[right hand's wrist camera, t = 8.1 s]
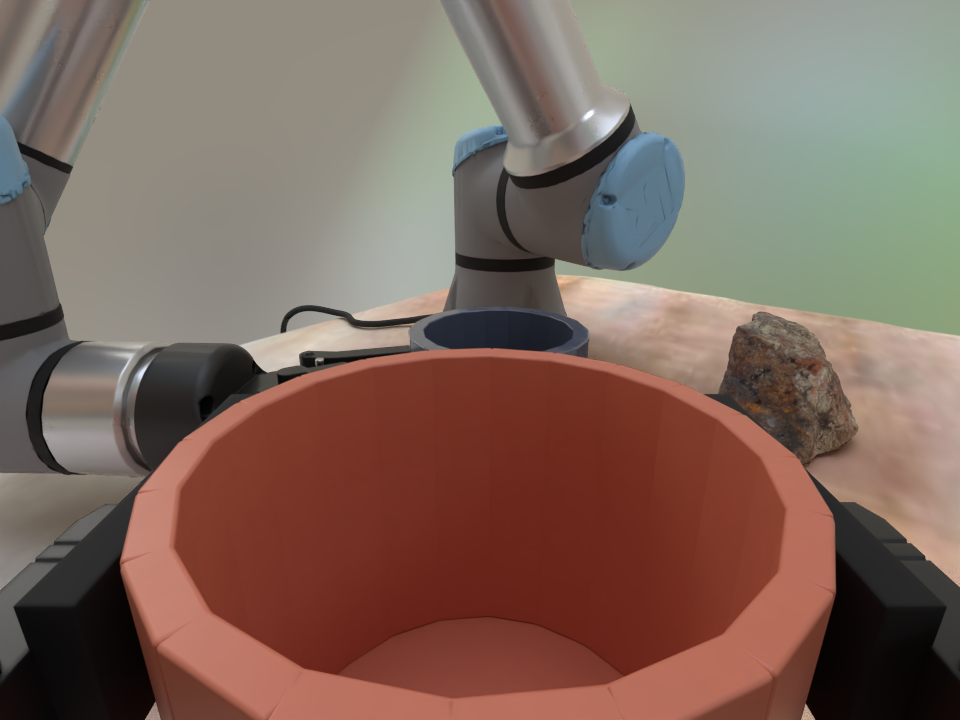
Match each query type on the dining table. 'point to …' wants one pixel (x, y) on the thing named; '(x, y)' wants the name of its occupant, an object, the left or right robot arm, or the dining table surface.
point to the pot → (480, 550)
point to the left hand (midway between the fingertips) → (567, 418)
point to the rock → (788, 386)
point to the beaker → (500, 331)
